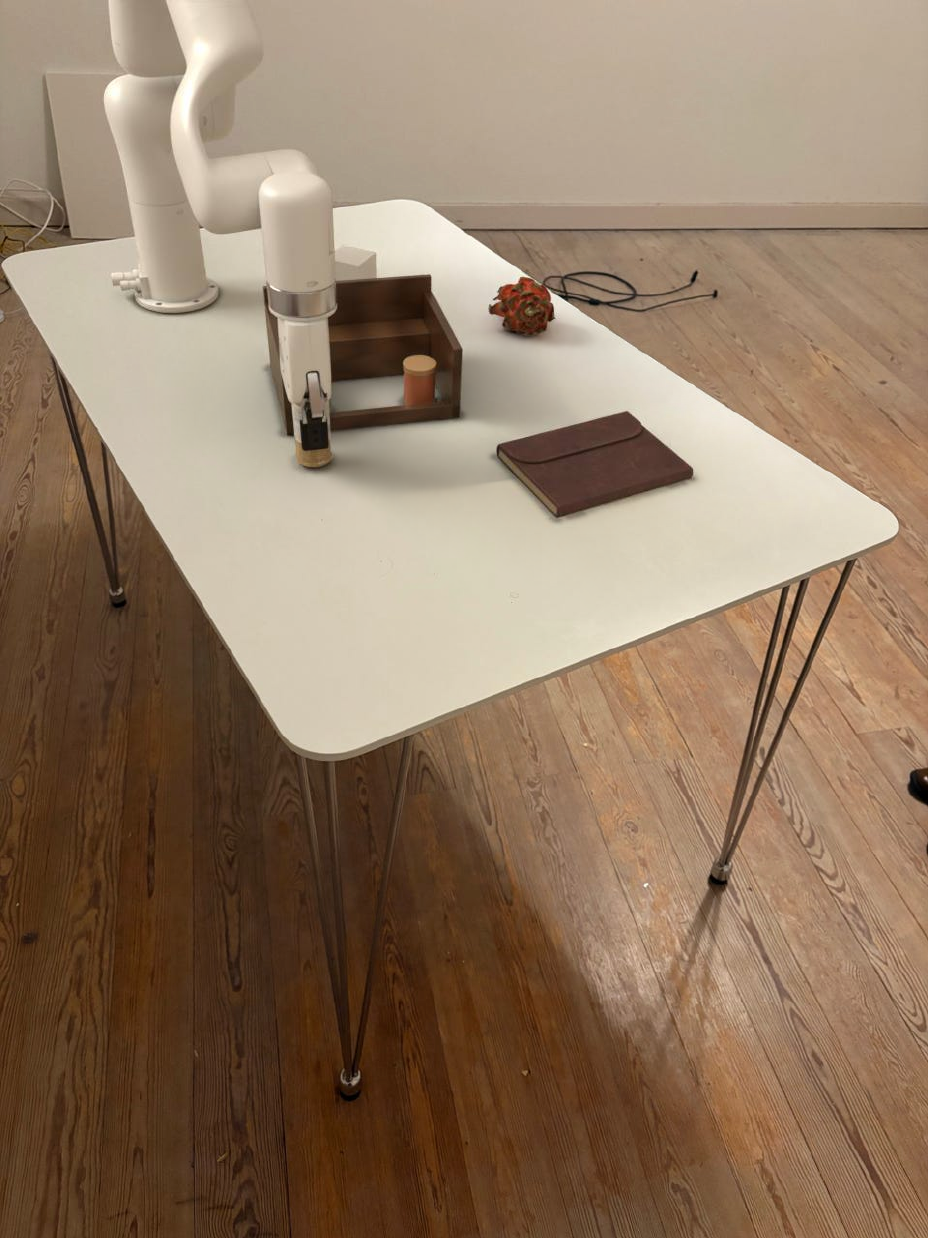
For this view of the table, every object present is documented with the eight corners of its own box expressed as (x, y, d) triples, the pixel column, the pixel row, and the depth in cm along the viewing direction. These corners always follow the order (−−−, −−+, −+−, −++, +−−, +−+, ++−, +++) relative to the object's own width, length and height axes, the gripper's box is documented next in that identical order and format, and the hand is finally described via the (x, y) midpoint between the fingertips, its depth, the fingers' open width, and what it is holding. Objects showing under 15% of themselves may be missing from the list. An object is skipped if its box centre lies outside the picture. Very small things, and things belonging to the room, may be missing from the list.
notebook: (692, 479, 126) (695, 466, 125) (557, 519, 119) (559, 505, 118) (623, 421, 136) (625, 408, 135) (495, 455, 129) (496, 441, 127)
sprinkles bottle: (319, 444, 128) (312, 347, 119) (339, 461, 126) (334, 362, 117) (288, 456, 126) (279, 357, 117) (308, 473, 123) (300, 374, 114)
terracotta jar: (406, 412, 136) (407, 372, 132) (400, 396, 139) (399, 356, 135) (438, 409, 137) (439, 369, 132) (431, 393, 140) (432, 353, 136)
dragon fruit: (539, 358, 151) (497, 335, 160) (578, 316, 151) (534, 296, 160) (511, 319, 146) (469, 298, 154) (551, 275, 145) (507, 256, 154)
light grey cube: (326, 295, 161) (323, 258, 157) (344, 281, 165) (342, 244, 161) (359, 303, 159) (358, 265, 155) (377, 288, 163) (376, 252, 159)
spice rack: (287, 435, 130) (279, 349, 122) (270, 367, 143) (262, 285, 135) (459, 417, 135) (463, 333, 127) (428, 353, 148) (430, 273, 140)
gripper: (259, 265, 117) (273, 405, 129) (277, 332, 105) (290, 479, 117) (324, 260, 118) (331, 399, 131) (349, 326, 106) (354, 472, 119)
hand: (312, 435), depth 124 cm, fingers closed on sprinkles bottle, 4 cm apart
